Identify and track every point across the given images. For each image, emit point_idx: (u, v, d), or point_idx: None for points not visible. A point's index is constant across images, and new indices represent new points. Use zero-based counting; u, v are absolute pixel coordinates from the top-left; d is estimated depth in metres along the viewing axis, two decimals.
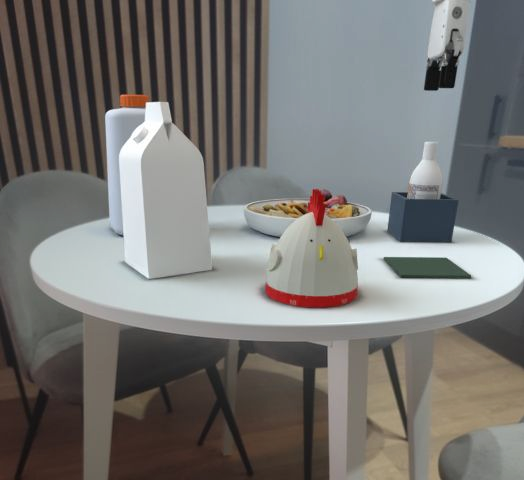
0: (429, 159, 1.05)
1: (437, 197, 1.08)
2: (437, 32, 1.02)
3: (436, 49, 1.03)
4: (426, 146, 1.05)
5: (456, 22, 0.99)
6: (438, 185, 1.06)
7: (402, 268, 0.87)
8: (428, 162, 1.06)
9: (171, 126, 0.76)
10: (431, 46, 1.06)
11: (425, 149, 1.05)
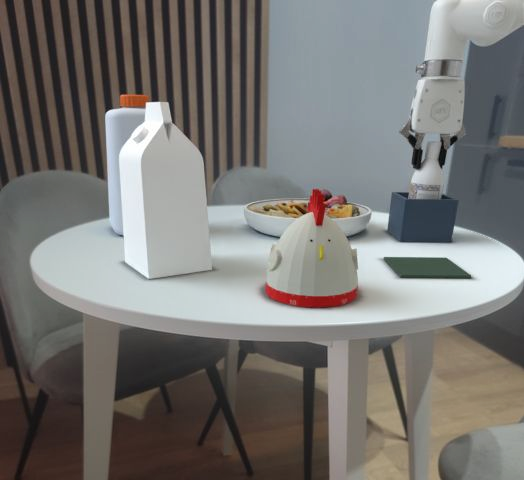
0: (431, 158, 1.05)
1: (438, 197, 1.08)
2: None
3: None
4: (429, 145, 1.05)
5: (413, 102, 1.02)
6: (440, 185, 1.06)
7: (402, 268, 0.87)
8: (430, 161, 1.05)
9: (171, 126, 0.76)
10: None
11: (428, 149, 1.05)
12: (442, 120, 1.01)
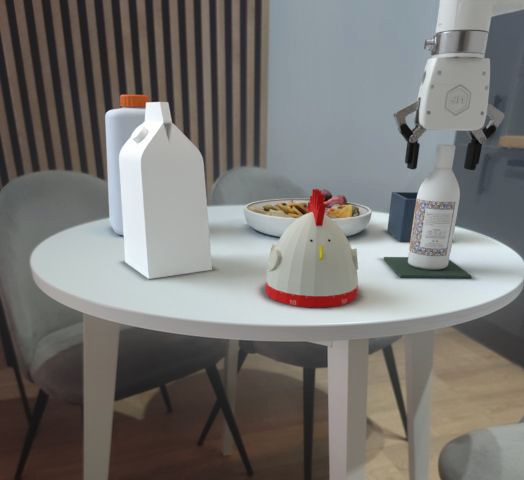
0: (443, 167, 0.81)
1: (453, 217, 0.83)
2: None
3: None
4: (439, 151, 0.80)
5: (421, 89, 0.77)
6: (455, 201, 0.82)
7: (402, 268, 0.87)
8: (442, 171, 0.81)
9: (171, 126, 0.76)
10: None
11: (438, 155, 0.80)
12: (460, 112, 0.76)
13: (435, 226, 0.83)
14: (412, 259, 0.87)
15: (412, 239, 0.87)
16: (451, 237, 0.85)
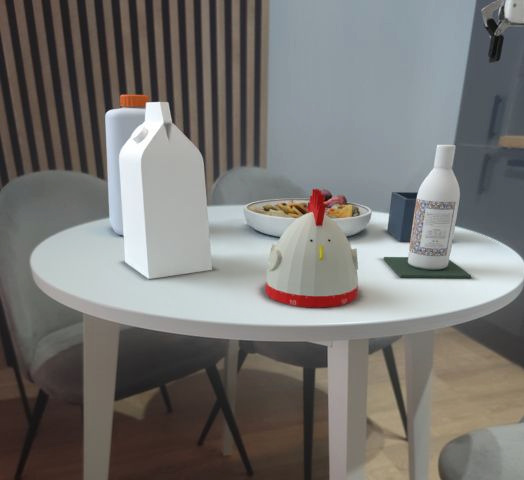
0: (443, 167, 0.81)
1: (453, 217, 0.83)
2: None
3: None
4: (439, 151, 0.80)
5: None
6: (455, 201, 0.82)
7: (402, 268, 0.87)
8: (442, 171, 0.81)
9: (171, 126, 0.76)
10: None
11: (438, 155, 0.80)
12: None
13: (435, 226, 0.83)
14: (412, 259, 0.87)
15: (412, 239, 0.87)
16: (451, 237, 0.85)
